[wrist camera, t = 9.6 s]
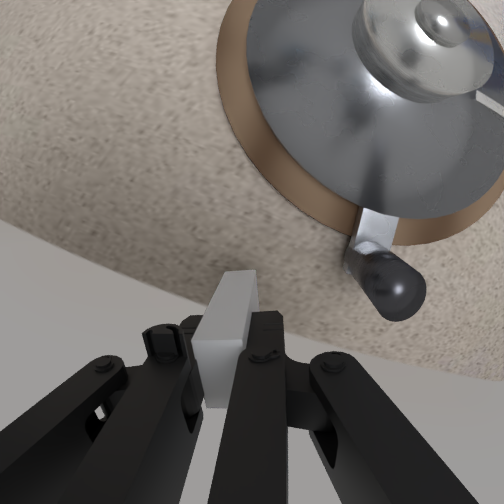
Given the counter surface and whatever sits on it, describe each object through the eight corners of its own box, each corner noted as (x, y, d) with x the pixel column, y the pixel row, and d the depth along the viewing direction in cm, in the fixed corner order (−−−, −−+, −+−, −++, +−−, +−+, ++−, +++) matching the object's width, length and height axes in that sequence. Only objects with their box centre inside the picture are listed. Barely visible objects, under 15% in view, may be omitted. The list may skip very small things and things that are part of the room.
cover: (343, 77, 15) (367, 47, 10) (357, -18, 13) (377, -59, 8) (456, 122, 15) (503, 113, 10) (460, 27, 13) (498, 3, 8)
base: (184, 199, 20) (181, 200, 19) (257, -73, 13) (257, -78, 13) (486, 271, 19) (492, 275, 19) (511, 24, 13) (515, 21, 12)
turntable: (205, 243, 19) (174, 277, 13) (278, -64, 13) (277, -118, 7) (467, 299, 19) (515, 337, 13) (504, 25, 13) (547, 4, 6)
